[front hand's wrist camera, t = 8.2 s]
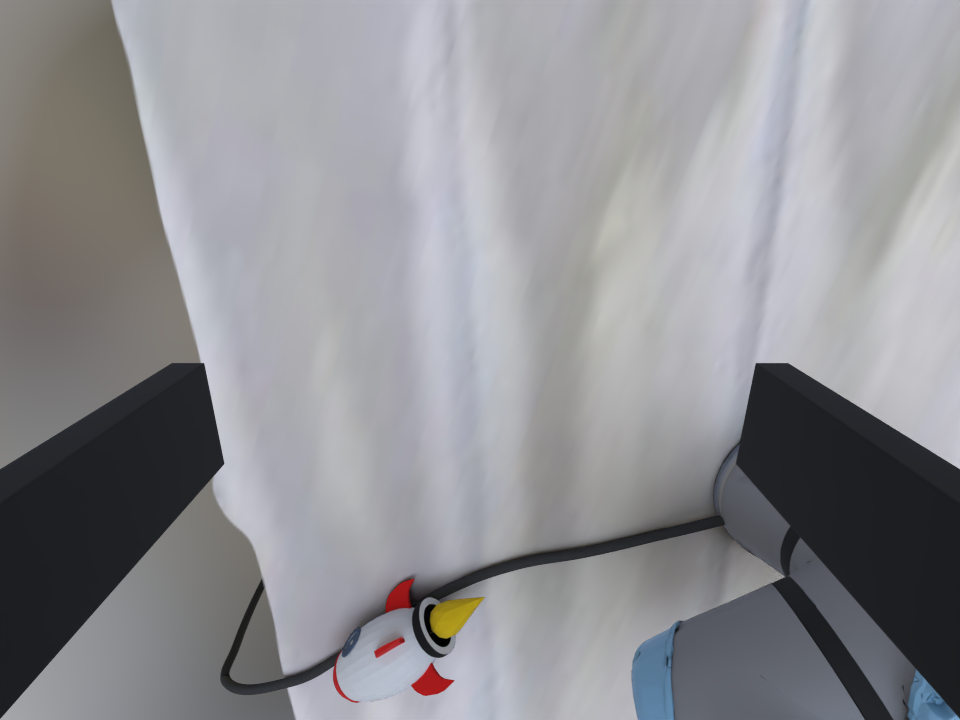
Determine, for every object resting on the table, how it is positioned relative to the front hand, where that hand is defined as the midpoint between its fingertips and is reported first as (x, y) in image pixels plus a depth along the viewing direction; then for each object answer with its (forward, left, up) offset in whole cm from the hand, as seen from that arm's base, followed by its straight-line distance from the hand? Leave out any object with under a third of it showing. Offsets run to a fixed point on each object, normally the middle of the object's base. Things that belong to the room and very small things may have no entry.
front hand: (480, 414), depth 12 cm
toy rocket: (-13, -38, -31) cm, 51 cm away
